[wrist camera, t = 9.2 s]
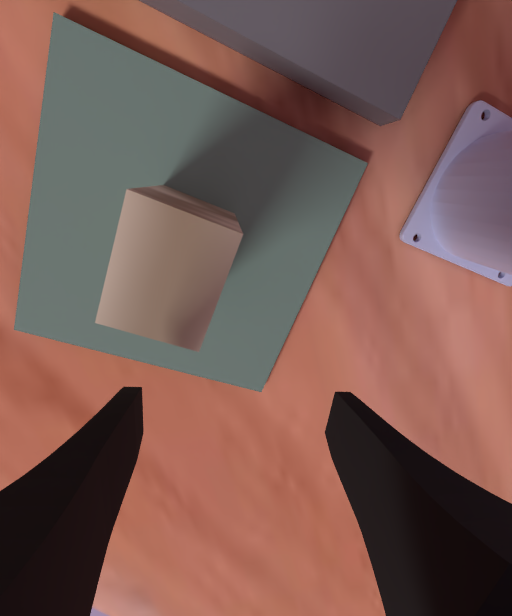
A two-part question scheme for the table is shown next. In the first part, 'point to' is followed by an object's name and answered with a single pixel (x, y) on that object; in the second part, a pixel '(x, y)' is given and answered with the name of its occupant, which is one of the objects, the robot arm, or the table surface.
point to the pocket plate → (329, 43)
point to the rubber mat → (182, 177)
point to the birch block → (168, 266)
